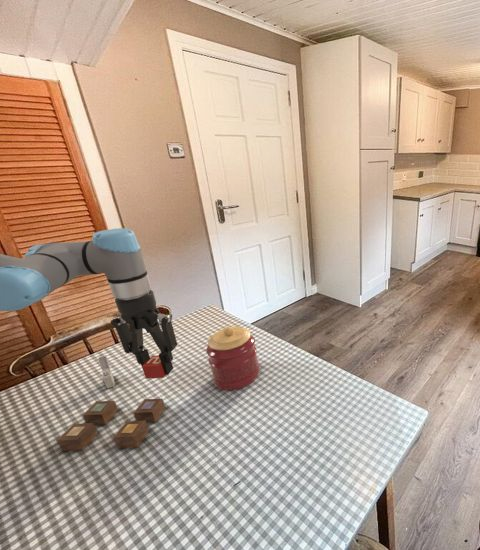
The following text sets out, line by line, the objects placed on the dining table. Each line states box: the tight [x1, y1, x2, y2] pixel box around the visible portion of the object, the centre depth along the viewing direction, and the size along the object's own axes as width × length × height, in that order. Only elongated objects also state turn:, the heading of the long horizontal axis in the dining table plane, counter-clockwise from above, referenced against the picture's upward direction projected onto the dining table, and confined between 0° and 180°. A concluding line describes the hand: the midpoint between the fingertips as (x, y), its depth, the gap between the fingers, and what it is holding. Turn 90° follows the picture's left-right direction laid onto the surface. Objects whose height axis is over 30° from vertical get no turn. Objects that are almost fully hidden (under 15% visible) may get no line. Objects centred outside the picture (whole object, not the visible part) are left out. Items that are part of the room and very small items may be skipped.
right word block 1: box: [112, 420, 150, 449], centre depth 71 cm, size 4×4×4 cm
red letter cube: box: [141, 354, 167, 380], centre depth 81 cm, size 4×4×4 cm
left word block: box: [81, 400, 119, 426], centre depth 77 cm, size 4×4×4 cm
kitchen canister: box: [205, 325, 260, 392], centre depth 89 cm, size 13×13×18 cm
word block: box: [56, 422, 99, 452], centre depth 70 cm, size 4×4×4 cm
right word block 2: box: [133, 398, 166, 424], centre depth 77 cm, size 4×4×4 cm
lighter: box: [97, 355, 116, 389], centre depth 88 cm, size 7×2×8 cm, turn 41°
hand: (159, 371), depth 81 cm, fingers closed on red letter cube, 4 cm apart
